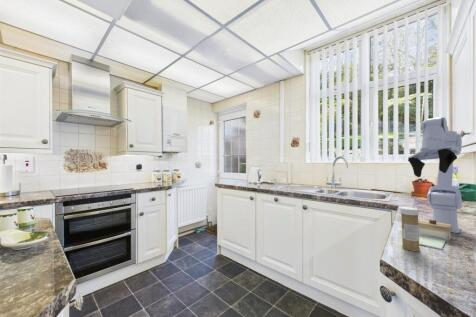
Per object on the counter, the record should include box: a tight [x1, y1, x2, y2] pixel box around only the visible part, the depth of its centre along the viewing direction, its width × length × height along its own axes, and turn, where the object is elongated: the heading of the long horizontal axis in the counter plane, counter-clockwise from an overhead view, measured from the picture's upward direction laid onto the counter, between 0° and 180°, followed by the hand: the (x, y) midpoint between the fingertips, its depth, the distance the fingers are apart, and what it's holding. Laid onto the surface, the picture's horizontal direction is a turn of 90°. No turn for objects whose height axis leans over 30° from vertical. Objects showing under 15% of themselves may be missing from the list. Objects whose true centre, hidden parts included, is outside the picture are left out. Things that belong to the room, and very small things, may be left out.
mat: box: [419, 235, 447, 251], centre depth 70 cm, size 11×7×1 cm, turn 129°
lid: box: [418, 218, 452, 234], centre depth 76 cm, size 5×9×3 cm, turn 39°
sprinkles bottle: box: [399, 206, 421, 252], centre depth 65 cm, size 5×5×14 cm
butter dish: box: [419, 228, 451, 242], centre depth 76 cm, size 5×9×3 cm, turn 39°
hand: (429, 173), depth 69 cm, fingers open, 7 cm apart
